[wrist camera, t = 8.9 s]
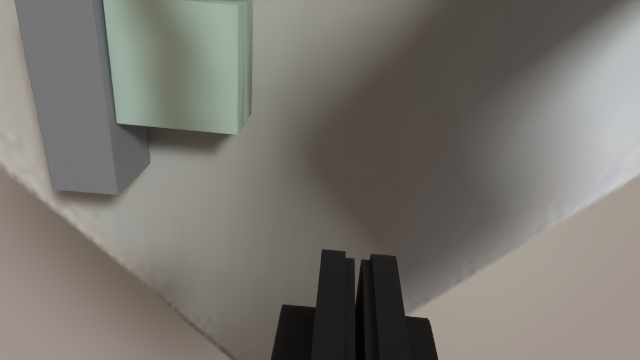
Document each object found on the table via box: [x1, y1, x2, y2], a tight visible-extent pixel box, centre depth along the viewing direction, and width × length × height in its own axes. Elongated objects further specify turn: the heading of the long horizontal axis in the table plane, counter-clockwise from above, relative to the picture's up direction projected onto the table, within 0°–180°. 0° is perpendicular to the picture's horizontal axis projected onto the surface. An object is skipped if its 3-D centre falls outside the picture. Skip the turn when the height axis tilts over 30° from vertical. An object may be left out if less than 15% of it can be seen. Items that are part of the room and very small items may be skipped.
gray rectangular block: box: [14, 0, 150, 195], centre depth 27 cm, size 4×12×5 cm, turn 176°
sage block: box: [103, 0, 253, 135], centre depth 27 cm, size 7×7×4 cm
